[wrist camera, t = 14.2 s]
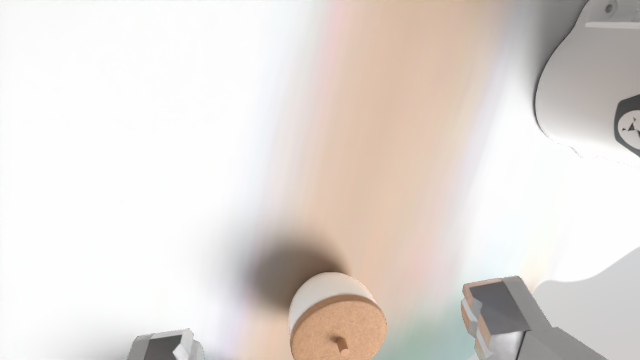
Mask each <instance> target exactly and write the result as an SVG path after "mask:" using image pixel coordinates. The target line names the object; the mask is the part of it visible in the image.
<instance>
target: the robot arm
mask: <svg viewBox="0 0 640 360" xmlns="http://www.w3.org/2000/svg"><path fill="white" fill-rule="evenodd" d="M605 9H606V10H605ZM535 108H536V116H537V120H538V123H539V126H540V128H541V129H542V131H543V132H544V134H545V135H546V136H547V137H548V138H550V139H551V140H553V141H554V142H557V143H559V144H563V145H567V146H570V147H572V148H573V150H574V151H575V152H576V153H577V154H578V155H579V156H580V157H583V158H586V159H594V158H596V157H598V156H600V157H604V158H607V159H610V160H614V161H617V162H621V163H624V164H628V165H631V166H635V167H638V168H640V0H589V1H588V2H587V3H586V5H585V6H584V8H583V10H582V12H581V13H580V16H579V18H578V20H577V22H576V24H575V26H574V28H573V29H572V31H571V32H570V33H569V35H568V36H567V37H566V38H565V39H564V40H563V41H562V43H561V44H560V45H559V46H558V47H557V49H556V50H555V51H554V53H553V54H552V56H551V57H550V59H549V61H548V62H547V64H546V66H545V68H544V70H543V73H542V75H541V78H540V81H539V84H538V88H537V93H536V102H535ZM462 292H463V294H464V296H465V298H464V299H463V300H462V301H461V311H462V317H463V320H464V323H465V326H466V329H467V331H468V333H469V334H470V335H472V336H473V337H474V338H476V339H475V346H474V348H475V350H476V353H477V355H478V357H479V359H480V360H608V359H606V358H604V357H603V356H602V355H600V354H598V353H597V352H595V351H594V350H592V349H591V348H589V347H588V346H586V345H585V344H583V343H582V342H580V341H578V340H577V339H576V338H574V337H573V336H571V335H570V334H568V333H567V332H565V331H563V330H562V329H560V328H559V327H552V326H551V325H550V323H549V321H548V320H547V318H546V317H545V315H544V313H543V312H542V310H541V309H540V307H539V306H538V304H537V302H536V301H535V299H534V298H533V296H532V294H531V293H530V291H529V290H528V288H527V286H526V285H525V283H524V282H523V280H522V279H521V278H520V277H519V276H516V275H515V276H509V277H504V278H495V279H489V280H484V281H478V282H472V283H467V284H464V285H463V290H462ZM193 335H194V334H193V333H192V331H191V330H190V329H189V328H188V329H181V330H175V331H168V332H162V333H153V334H147V335H141V336H137V338H136V339H135V340H134V342H133V344H132V346H131V349H130V352H129V355H128V358H127V360H204V351H203V348H202V346H201V344H200V343H199V342H198V341H195V340H193Z"/></svg>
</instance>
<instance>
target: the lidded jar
mask: <svg viewBox="0 0 640 360" xmlns="http://www.w3.org/2000/svg"><path fill="white" fill-rule="evenodd" d="M288 324H289V335H290V346H291V352H292V355H293V358H294V360H369V359H371V358H372V357H373V356H374V355H375V354H376V353H377V352H378V350H379V349H380V347H381V346H382V344H383V342H384V339H385V337H386V332H387V323H386V319H385V317H384V315H383V313H382V311H381V309H380V308H379V307H378V305H377V303H376V301H375V300H374V298H373V296H372V295H371V294H370V292H369V291H368V290H367V289H366V287H365V286H364V285H363V284H362V283H360V282H359V281H358V280H356V279H355V278H353V277H351V276H349V275H346V274H343V273H338V272H323V273H319V274H316V275H314V276H313V277H311V278H310V279H308V280H307V281H306V282H305V283H304V284H303V285H302V286H301V287H300V288H299V289H298V291H297V292H296V294H295V296H294V297H293V300H292V302H291V305H290V310H289V321H288Z"/></svg>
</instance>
